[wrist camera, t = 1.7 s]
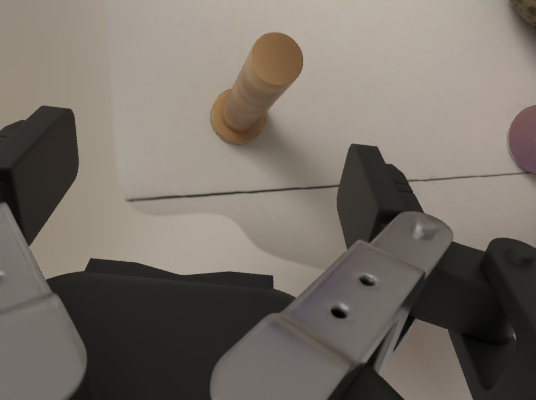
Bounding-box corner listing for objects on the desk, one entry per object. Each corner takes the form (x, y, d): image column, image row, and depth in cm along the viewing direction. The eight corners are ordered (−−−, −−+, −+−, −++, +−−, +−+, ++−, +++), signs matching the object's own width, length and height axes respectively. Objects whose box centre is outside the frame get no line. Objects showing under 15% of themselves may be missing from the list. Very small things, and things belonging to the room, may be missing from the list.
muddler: (212, 145, 34) (239, 101, 21) (208, 92, 34) (232, 17, 22) (264, 143, 35) (320, 98, 22) (260, 91, 35) (313, 18, 22)
